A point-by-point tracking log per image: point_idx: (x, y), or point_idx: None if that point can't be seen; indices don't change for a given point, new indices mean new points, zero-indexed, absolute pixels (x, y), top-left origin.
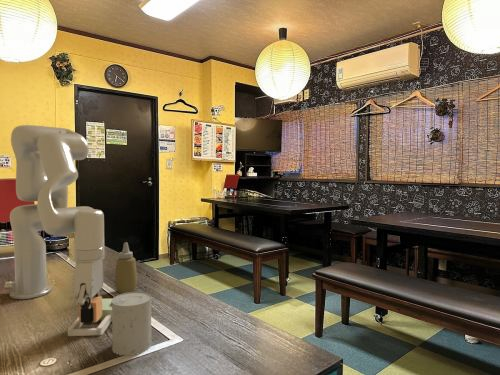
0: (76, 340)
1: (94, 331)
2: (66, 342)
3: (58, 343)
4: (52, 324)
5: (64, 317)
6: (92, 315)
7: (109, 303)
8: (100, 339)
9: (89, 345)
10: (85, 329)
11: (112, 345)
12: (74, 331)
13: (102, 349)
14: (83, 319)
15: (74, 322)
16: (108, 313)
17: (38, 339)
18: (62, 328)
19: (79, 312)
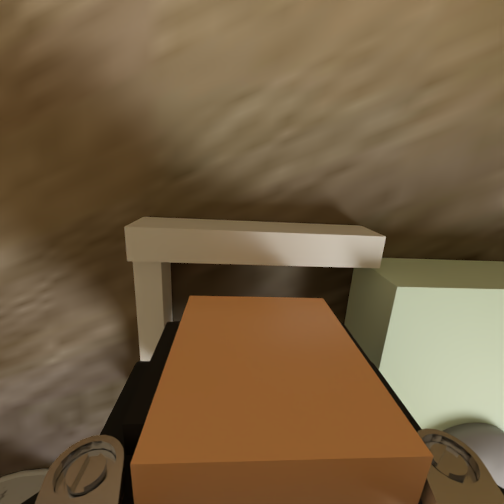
0: (89, 289)
1: None
2: (59, 240)
3: (41, 195)
4: (349, 12)
5: (463, 67)
6: None
7: (490, 408)
8: (107, 401)
9: (38, 373)
10: (147, 336)
11: (8, 489)
12: (137, 267)
13: (6, 438)
14: (137, 367)
15: (237, 238)
16: None
17: (87, 7)
18: (264, 131)
19: (169, 354)
